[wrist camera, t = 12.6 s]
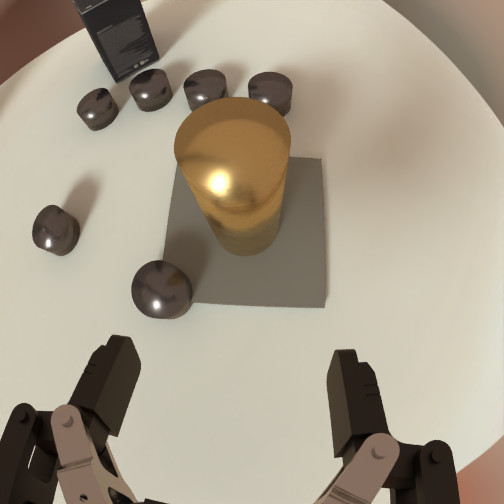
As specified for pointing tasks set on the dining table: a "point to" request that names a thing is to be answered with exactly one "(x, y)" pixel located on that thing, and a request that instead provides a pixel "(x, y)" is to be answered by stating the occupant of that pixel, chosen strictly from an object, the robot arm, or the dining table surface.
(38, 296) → the dining table surface
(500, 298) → the dining table surface
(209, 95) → the spacers
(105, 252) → the dining table surface
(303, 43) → the dining table surface
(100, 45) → the box
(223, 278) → the pad
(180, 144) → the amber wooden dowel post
